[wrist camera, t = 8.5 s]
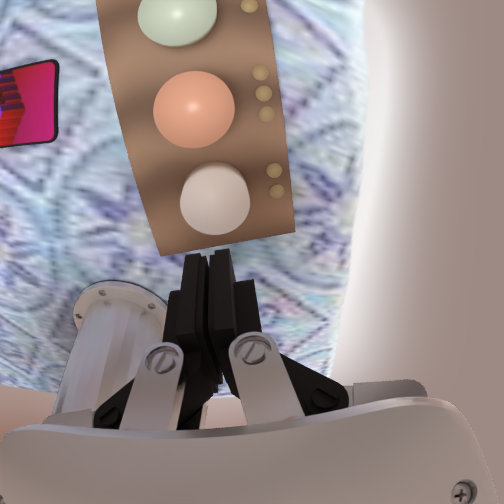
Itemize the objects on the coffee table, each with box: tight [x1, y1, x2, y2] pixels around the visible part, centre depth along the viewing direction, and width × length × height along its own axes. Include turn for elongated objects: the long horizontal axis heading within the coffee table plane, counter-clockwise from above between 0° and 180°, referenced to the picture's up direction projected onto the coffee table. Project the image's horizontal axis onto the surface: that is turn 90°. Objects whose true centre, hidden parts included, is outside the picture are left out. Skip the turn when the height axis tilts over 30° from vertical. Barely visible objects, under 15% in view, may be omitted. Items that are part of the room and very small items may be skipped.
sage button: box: [138, 0, 217, 48], centre depth 15 cm, size 5×5×2 cm
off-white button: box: [180, 161, 250, 235], centre depth 23 cm, size 5×5×2 cm
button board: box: [96, 0, 295, 256], centre depth 21 cm, size 24×12×2 cm, turn 8°
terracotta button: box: [153, 71, 235, 148], centre depth 18 cm, size 5×5×2 cm
